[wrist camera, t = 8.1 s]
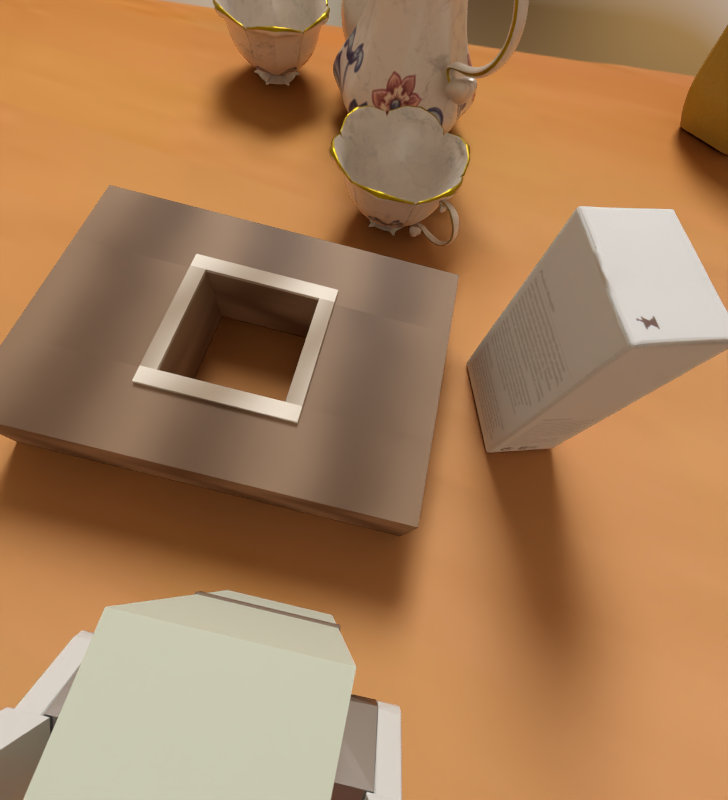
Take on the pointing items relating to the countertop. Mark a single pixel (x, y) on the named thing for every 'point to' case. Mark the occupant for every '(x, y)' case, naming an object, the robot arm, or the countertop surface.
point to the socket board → (221, 406)
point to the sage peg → (202, 704)
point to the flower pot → (710, 99)
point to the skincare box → (595, 328)
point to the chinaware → (383, 93)
